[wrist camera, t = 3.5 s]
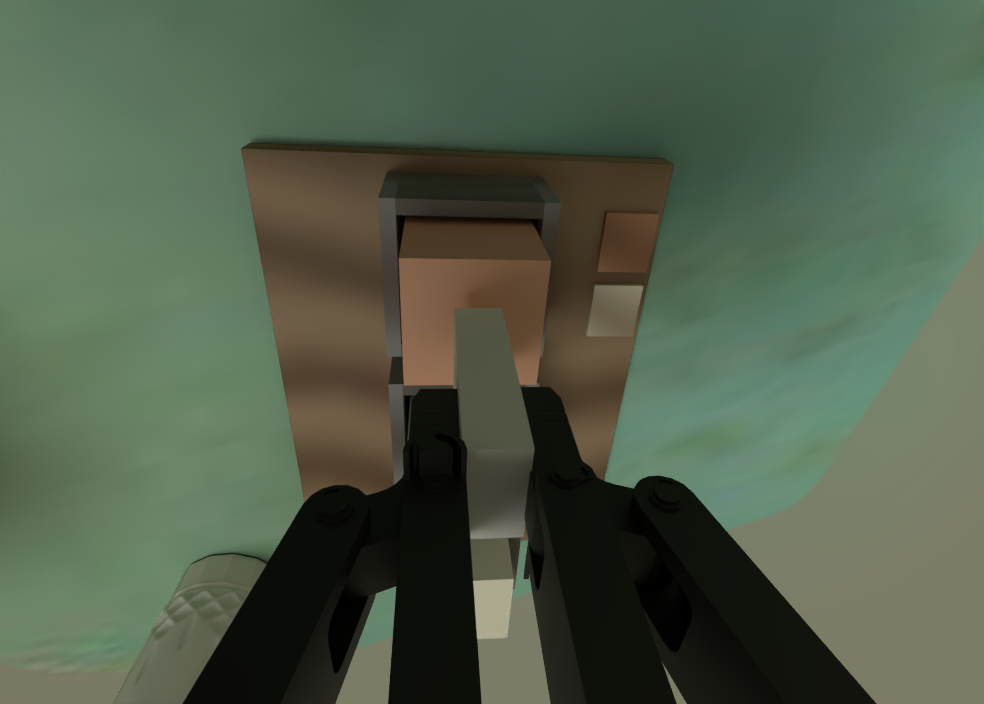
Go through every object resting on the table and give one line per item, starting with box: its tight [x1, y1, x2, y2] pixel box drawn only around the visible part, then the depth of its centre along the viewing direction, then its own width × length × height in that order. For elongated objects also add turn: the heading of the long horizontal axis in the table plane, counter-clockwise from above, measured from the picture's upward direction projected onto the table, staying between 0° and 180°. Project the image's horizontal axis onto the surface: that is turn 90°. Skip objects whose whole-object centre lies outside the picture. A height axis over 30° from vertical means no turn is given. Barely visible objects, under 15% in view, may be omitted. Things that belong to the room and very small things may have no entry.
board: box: [241, 143, 673, 589], centre depth 27 cm, size 24×18×5 cm
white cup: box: [113, 554, 267, 704], centre depth 33 cm, size 8×8×10 cm
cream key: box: [470, 538, 514, 639], centre depth 28 cm, size 5×5×5 cm
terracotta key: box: [399, 215, 551, 385], centre depth 20 cm, size 5×5×5 cm
